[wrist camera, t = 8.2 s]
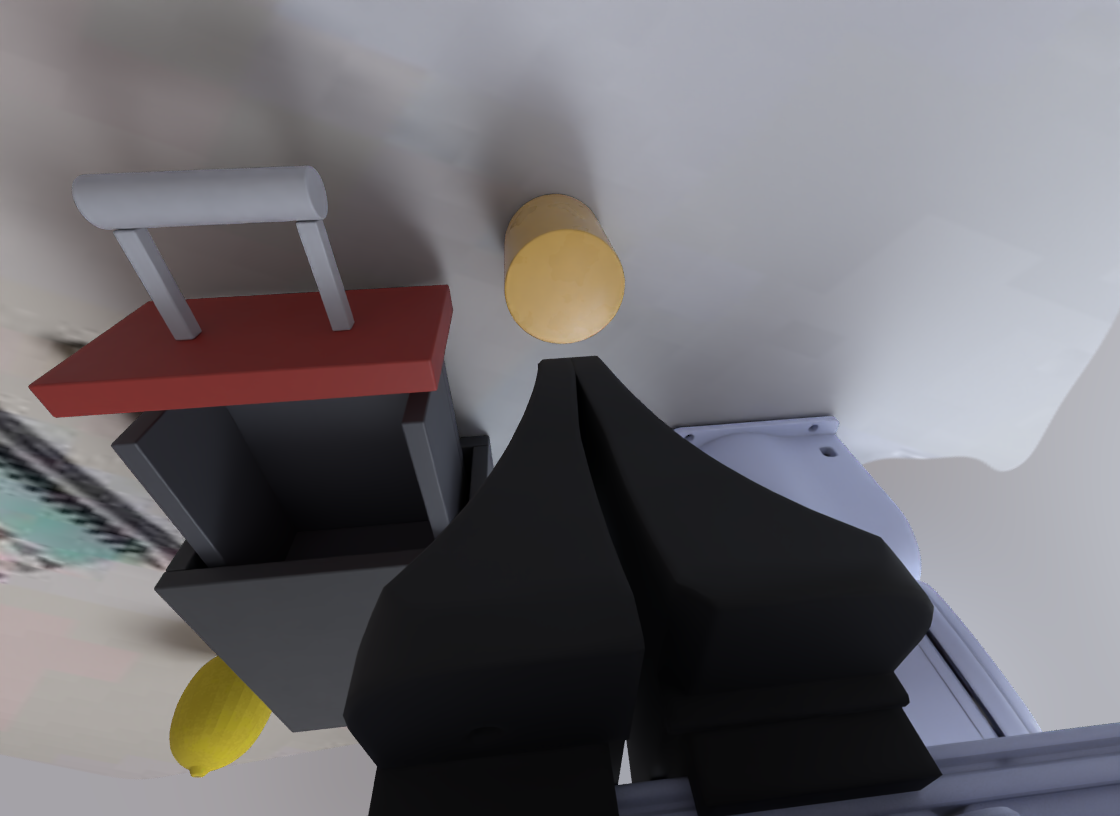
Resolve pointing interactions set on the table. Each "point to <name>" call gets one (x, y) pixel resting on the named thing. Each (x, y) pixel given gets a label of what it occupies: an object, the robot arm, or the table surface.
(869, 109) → the table surface
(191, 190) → the drawer
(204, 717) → the lemon
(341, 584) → the dark grey box
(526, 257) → the yellow wooden cylinder
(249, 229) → the table surface
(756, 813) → the robot arm
